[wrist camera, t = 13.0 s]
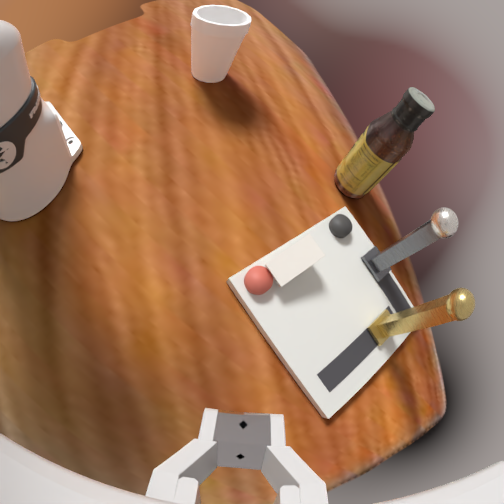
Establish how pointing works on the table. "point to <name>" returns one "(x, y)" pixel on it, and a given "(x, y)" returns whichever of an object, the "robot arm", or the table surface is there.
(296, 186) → the table surface
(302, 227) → the table surface
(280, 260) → the block
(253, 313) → the panel
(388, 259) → the graphite lever
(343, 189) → the sauce bottle
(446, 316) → the brass lever
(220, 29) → the foam cup
